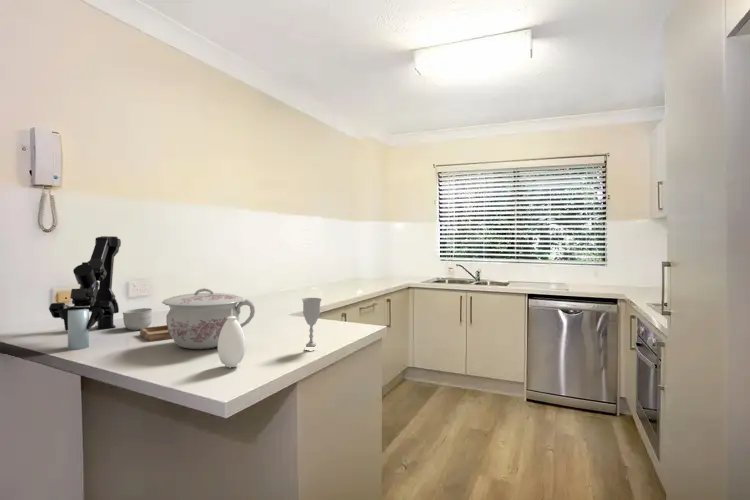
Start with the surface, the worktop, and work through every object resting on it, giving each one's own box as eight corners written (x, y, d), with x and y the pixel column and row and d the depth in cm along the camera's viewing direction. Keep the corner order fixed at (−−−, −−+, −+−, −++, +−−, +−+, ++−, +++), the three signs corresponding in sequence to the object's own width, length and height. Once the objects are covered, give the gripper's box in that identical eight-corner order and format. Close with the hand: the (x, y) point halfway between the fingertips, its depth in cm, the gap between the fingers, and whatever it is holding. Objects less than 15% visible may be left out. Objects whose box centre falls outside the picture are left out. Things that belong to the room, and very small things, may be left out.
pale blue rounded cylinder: (66, 347, 146) (66, 310, 145) (87, 344, 150) (87, 308, 149) (68, 350, 141) (68, 312, 141) (90, 347, 145) (90, 310, 145)
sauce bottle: (237, 361, 132) (237, 305, 132) (249, 367, 127) (250, 308, 126) (213, 366, 127) (213, 307, 126) (225, 372, 121) (225, 311, 121)
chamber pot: (144, 348, 146) (144, 289, 146) (208, 333, 171) (208, 282, 170) (199, 360, 133) (199, 295, 133) (260, 342, 158) (260, 287, 157)
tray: (140, 334, 166) (140, 328, 165) (172, 330, 174) (172, 324, 174) (149, 341, 155) (149, 334, 155) (183, 337, 163) (183, 330, 163)
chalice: (325, 349, 148) (325, 299, 148) (309, 353, 143) (310, 301, 143) (312, 345, 153) (312, 297, 153) (297, 349, 148) (297, 298, 148)
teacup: (142, 331, 171) (142, 312, 171) (116, 331, 171) (116, 311, 171) (161, 324, 185) (161, 306, 185) (136, 324, 185) (136, 306, 185)
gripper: (50, 280, 146) (36, 317, 135) (112, 279, 152) (103, 314, 142) (59, 299, 153) (47, 335, 143) (117, 297, 159) (109, 332, 149)
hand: (76, 329), depth 144 cm, fingers closed on pale blue rounded cylinder, 6 cm apart
